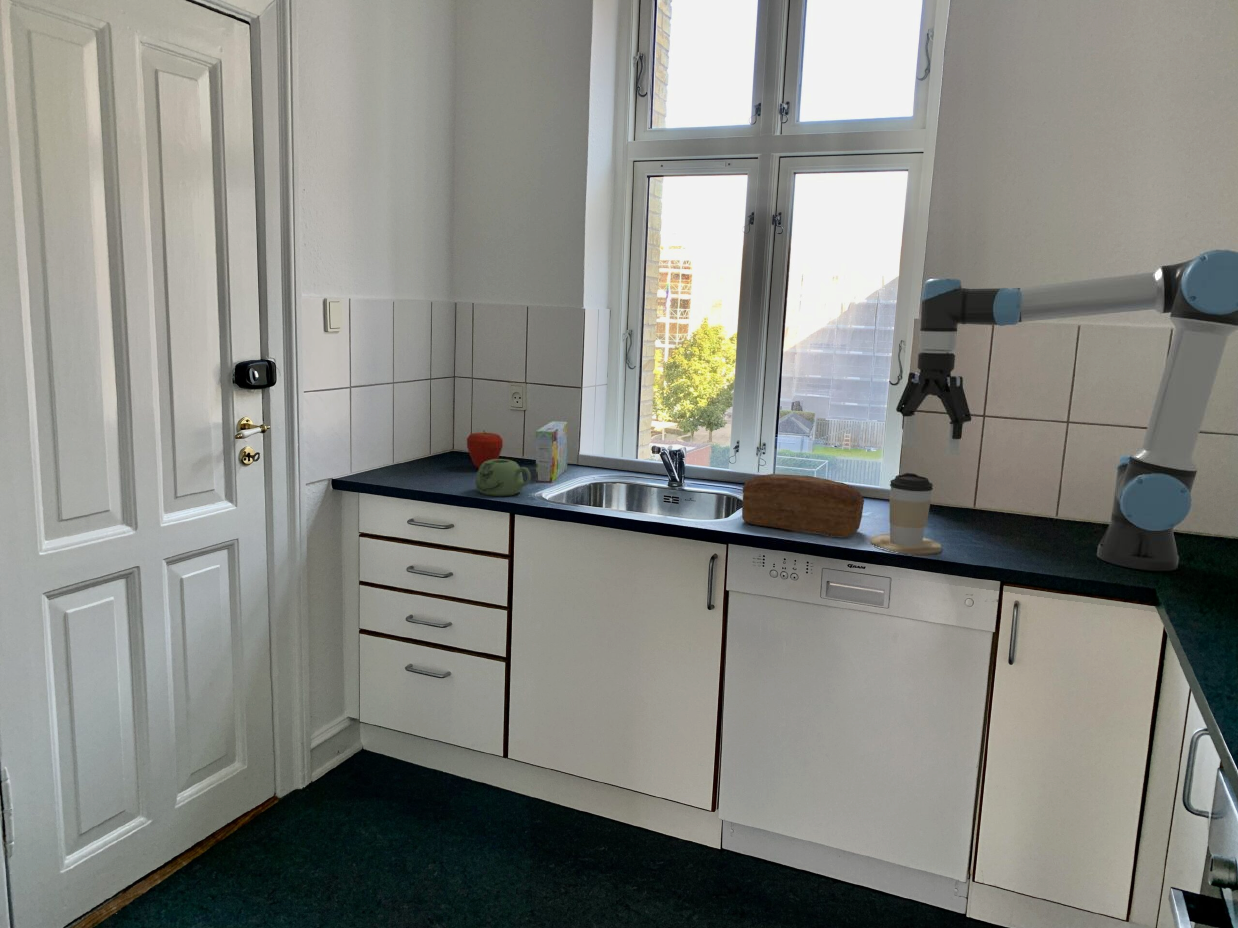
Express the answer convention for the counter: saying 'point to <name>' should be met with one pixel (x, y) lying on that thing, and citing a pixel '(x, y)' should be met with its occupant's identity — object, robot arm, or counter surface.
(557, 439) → the snack box
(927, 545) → the coaster
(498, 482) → the mug
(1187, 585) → the counter surface
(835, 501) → the bread
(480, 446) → the apple
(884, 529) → the counter surface
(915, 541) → the coffee cup
